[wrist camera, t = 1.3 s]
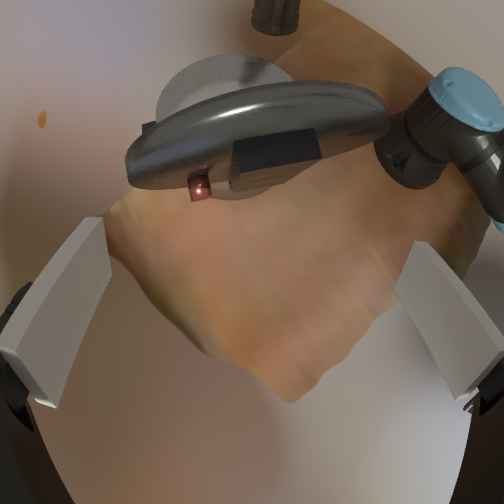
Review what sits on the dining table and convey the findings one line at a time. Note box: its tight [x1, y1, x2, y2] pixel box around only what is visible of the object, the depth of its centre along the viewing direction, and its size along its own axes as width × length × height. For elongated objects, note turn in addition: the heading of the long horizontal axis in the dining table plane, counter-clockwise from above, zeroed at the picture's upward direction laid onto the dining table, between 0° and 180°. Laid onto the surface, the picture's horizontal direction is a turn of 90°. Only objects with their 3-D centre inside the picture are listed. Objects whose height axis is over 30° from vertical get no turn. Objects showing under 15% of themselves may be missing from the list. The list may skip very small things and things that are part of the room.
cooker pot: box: [142, 54, 294, 200], centre depth 41 cm, size 25×21×12 cm
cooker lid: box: [125, 81, 391, 202], centre depth 23 cm, size 21×21×4 cm
